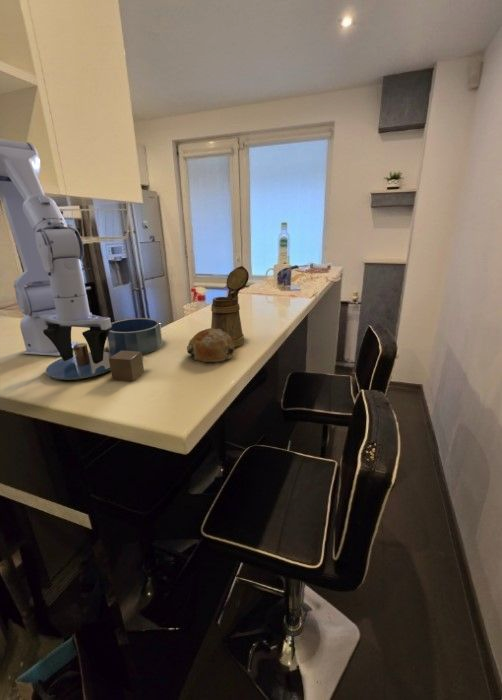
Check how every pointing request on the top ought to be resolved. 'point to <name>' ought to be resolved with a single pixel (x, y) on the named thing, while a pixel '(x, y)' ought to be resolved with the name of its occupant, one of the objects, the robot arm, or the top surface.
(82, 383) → the top surface
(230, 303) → the wooden mug
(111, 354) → the bowl lid
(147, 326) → the bowl
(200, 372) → the top surface
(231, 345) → the bread roll
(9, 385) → the top surface
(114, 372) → the block
